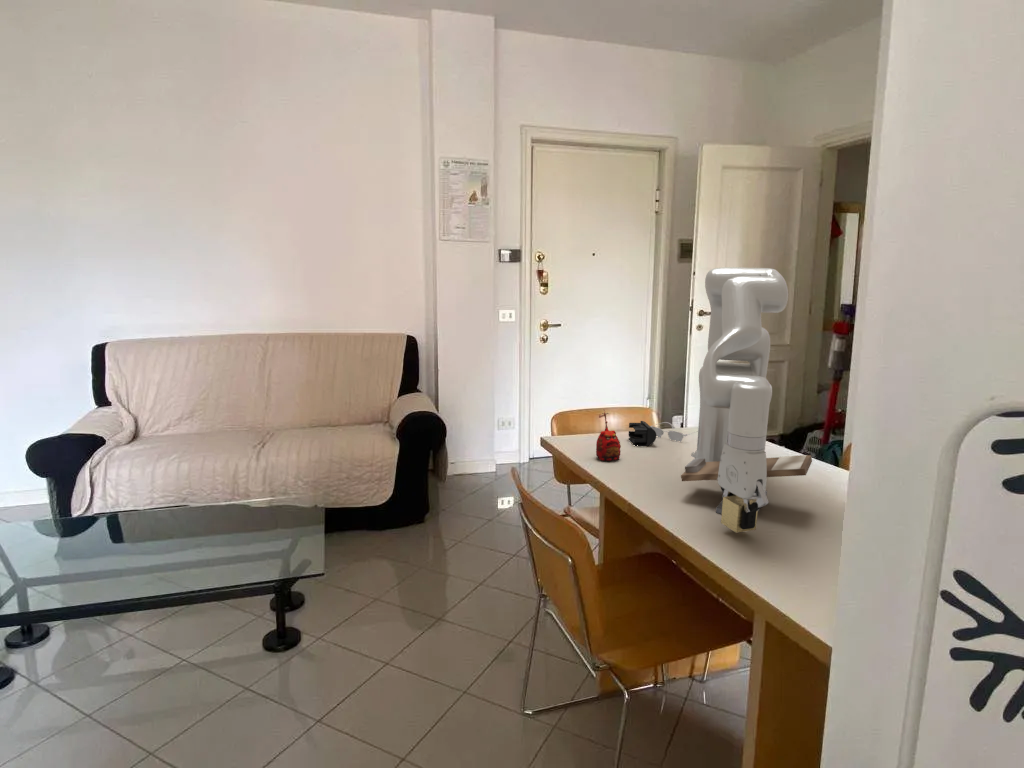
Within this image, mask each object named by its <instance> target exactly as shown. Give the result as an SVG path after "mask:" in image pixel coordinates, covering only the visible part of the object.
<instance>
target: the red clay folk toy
mask: <svg viewBox="0 0 1024 768" xmlns="http://www.w3.org/2000/svg"><path fill="white" fill-rule="evenodd" d="M603 412H604V413H602V414H599V415H598V418H603V417H604V422H605V423H604V424H605V428H604V430H602V431H600V433H599V435H598V437H597V440H596V449H595V450H596V451H595V453H596V454H595V455H596V458H597V459H598V460H600V461H601V462H605V461H606V462H607V461H608V462H610V461H612V462H616V461H619V460H620V457H621V456H620V455H621V451H622V450H621V447H622V446H621V441H620V440H619V438H618V435H617V432H616V431H615V430H609V428H608V420H607V414H609V413H608V412H607V413H606V410H605V409H603Z"/></svg>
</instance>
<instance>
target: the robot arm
mask: <svg viewBox="0 0 1024 768" xmlns="http://www.w3.org/2000/svg"><path fill="white" fill-rule="evenodd" d="M704 279H705V280H704V287H705V293H706V295H707V299H708V301H709V302H708V303H709V306H710V316H709V326H708V327H709V328H708V337H707V352H706V355H705V357H704V360H703V363H702V366H701V368H700V370H699V371H698V384H699V385H698V386H699V387H698V388H699V416H698V427H697V428H698V429H697V431H698V432H697V441H696V442H697V444H696V450H695V452H694V451H692V452H691V453H690V457H692V458H694V459H705V462H715V461H720V465H719V472H718V478H717V480H716V481H717V484H718V486H719V487H720V490H721V492H722V493H723V494H722V498H723V497H727V496H735V495H736V496H738V497H740V498H742V499H743V500H744V510H745V511H742V518H741V528H742V529H750V528H754V527H755V521H756V511H758V512H759V511H760V509H761V508H763V507H765V506H766V505H769V500H768V497H767V496H766V494H765V491H766V488H767V478H768V477H767V462H766V458H767V455H766V454H767V453H766V444H767V443H766V442H767V441H766V440H767V432H768V425H769V424H768V423H769V422H768V421H769V413H770V403H771V401H772V397H773V386H772V384H770V382H769V380H768V378H767V373H768V366H769V360H770V353H771V352H770V351H771V336H770V333H769V331H768V330H767V329H766V328H765V327H762V326H763V325H762V313H775V314H777V313H781V312H783V311H784V310H785V309H786V307H787V306H788V305H787V304H788V300H789V288H788V284H787V281H786V280H785V278H784V276H783V275H782V274H781V273H780V272H779V271H778V270H777V269H774V268H769V267H741V266H739V267H737V266H736V267H734V266H733V267H730V266H729V267H728V266H727V267H726V266H725V267H715V268H712V269H710V270H709V271H708V272H706V275H705V278H704ZM721 360H722V361H733V362H719V361H721ZM734 361H735V362H734ZM736 361H738V362H737V363H736ZM740 362H748V363H740ZM749 500H752V501H753V503H752V504H750V501H749Z"/></svg>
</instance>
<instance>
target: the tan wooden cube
mask: <svg viewBox="0 0 1024 768" xmlns="http://www.w3.org/2000/svg"><path fill="white" fill-rule="evenodd" d="M722 500H723V506H722V514H721V519H720V520H721V521H720V524H722V525H724V526H725V527H726V528H728V529H730V530H731V531H732V532H734V533H736V534H737V533H743V532H749V531H756V530H757V524H758V523H757V521H758V512H759V511H756V521H755V527H754V528H750V529H742V528H741V518H742V511H745V510H744V500H743V499H742V498H740V497H738V496H736V495H735V496H727V497H723V496H722ZM749 501H750V504H752V503H753V501H752V500H749Z"/></svg>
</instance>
